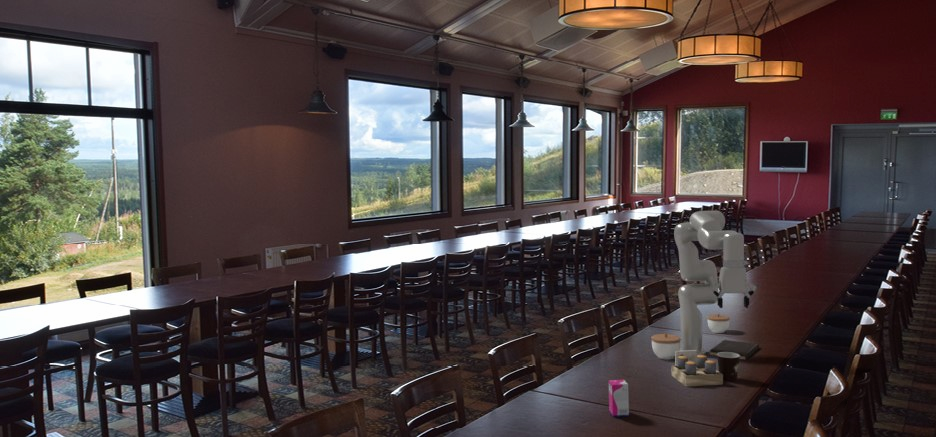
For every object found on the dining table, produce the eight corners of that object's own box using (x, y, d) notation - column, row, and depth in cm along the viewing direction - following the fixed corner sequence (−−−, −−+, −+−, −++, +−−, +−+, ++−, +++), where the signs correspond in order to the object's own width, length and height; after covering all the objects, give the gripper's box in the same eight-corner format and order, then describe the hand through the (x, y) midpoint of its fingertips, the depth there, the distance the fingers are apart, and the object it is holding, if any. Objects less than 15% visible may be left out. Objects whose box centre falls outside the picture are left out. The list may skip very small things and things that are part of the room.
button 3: (694, 367, 284) (694, 355, 284) (704, 366, 285) (704, 354, 284) (699, 370, 280) (699, 357, 280) (709, 369, 280) (709, 357, 280)
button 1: (675, 368, 284) (675, 356, 283) (685, 367, 284) (685, 355, 284) (679, 371, 279) (679, 358, 279) (689, 370, 280) (689, 358, 279)
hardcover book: (708, 355, 314) (708, 350, 313) (724, 344, 332) (724, 339, 332) (745, 361, 304) (745, 355, 304) (759, 349, 322) (759, 344, 322)
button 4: (703, 372, 276) (703, 360, 276) (713, 372, 277) (713, 359, 276) (707, 375, 272) (707, 363, 272) (717, 375, 272) (717, 362, 272)
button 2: (683, 373, 276) (683, 361, 275) (693, 373, 276) (693, 360, 276) (687, 376, 271) (687, 364, 271) (698, 376, 272) (698, 363, 271)
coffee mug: (725, 383, 272) (725, 358, 272) (712, 377, 281) (712, 353, 280) (750, 380, 275) (751, 355, 275) (737, 374, 284) (737, 350, 283)
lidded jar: (732, 334, 349) (732, 315, 348) (711, 334, 349) (711, 316, 349) (725, 329, 360) (725, 311, 359) (704, 329, 360) (704, 311, 359)
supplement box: (624, 410, 246) (624, 379, 245) (629, 416, 240) (628, 384, 239) (608, 411, 246) (608, 379, 245) (612, 417, 240) (612, 384, 239)
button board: (671, 375, 285) (671, 365, 285) (706, 373, 286) (706, 363, 286) (685, 386, 270) (685, 376, 270) (722, 384, 271) (722, 374, 271)
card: (675, 372, 289) (675, 351, 288) (696, 371, 289) (696, 350, 289) (675, 372, 288) (675, 351, 287) (696, 371, 289) (696, 350, 288)
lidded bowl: (681, 361, 304) (681, 337, 303) (652, 360, 306) (652, 336, 305) (679, 353, 316) (679, 330, 315) (650, 353, 318) (650, 329, 318)
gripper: (753, 262, 274) (752, 305, 275) (708, 263, 275) (708, 305, 277) (759, 265, 266) (759, 309, 268) (713, 266, 268) (713, 309, 269)
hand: (733, 307), depth 272 cm, fingers open, 9 cm apart
